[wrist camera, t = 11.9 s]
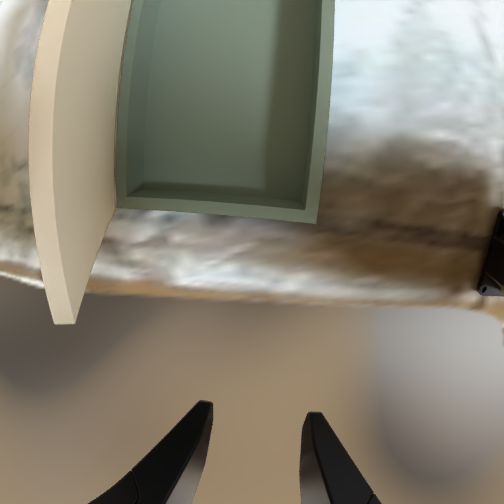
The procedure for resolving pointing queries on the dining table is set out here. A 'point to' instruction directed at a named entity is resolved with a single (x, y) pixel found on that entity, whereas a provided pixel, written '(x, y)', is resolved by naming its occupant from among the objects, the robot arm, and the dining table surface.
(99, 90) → the lid flap
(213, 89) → the carton
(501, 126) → the dining table surface
